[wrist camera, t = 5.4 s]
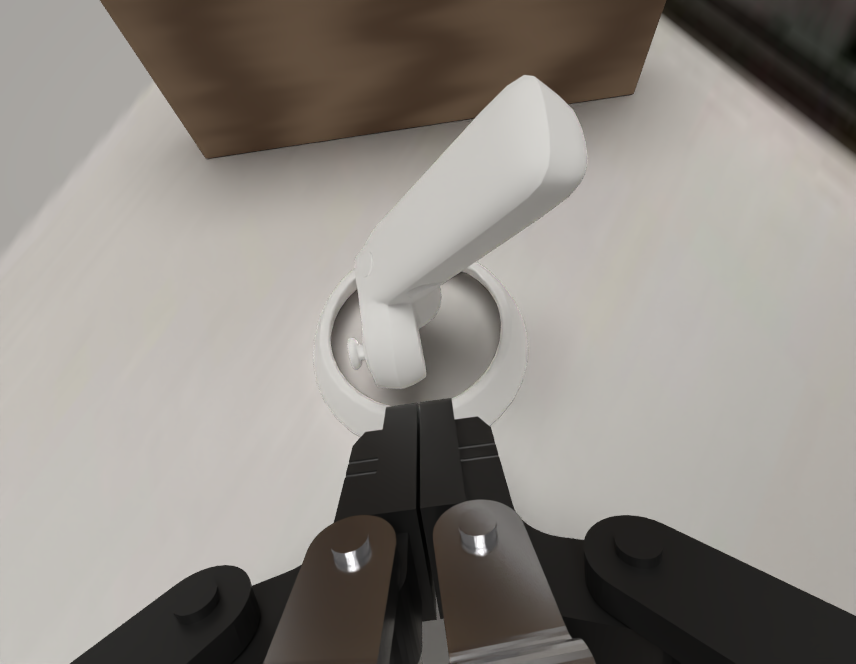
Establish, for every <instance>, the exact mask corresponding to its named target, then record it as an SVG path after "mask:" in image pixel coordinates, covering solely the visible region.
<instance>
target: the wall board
mask: <svg viewBox="0 0 856 664" xmlns="http://www.w3.org/2000/svg"><path fill="white" fill-rule="evenodd" d="M100 1H101V3H102V4H103V6H104V7H105V9H106V10H107V12H108V13H109V14H110V16H111V18H112V19H113V21H114V22H115V24H116V25H117V26H118V28H119V29H120V31H121V32H122V34H123V35H124V37H125V38H126V40H127V41H128V43H129V44H130V46H131V47H132V49H133V50H134V52H135V53H136V55H137V56H138V58H139V59H140V61H141V62H142V64H143V65H144V67H145V68H146V70H147V71H148V73H149V74H150V76H151V77H152V79H153V80H154V82H155V83H156V85H157V86H158V88H159V89H160V91H161V92H162V94H163V95H164V97H165V98H166V100H167V101H168V103H169V104H170V106H171V107H172V109H173V110H174V112H175V113H176V115H177V116H178V118H179V119H180V121H181V122H182V124H183V125H184V127H185V128H186V130H187V131H188V133H189V134H190V136H191V137H192V138H193V140H194V141H195V143H196V144H197V146H198V147H199V149H200V150H201V152H202V153H203V155H204V156H205V158H206V159H207V158H214V157H220V156H227V155H234V154H240V153H247V152H253V151H260V150H267V149H273V148H280V147H286V146H293V145H299V144H306V143H313V142H319V141H326V140H332V139H339V138H346V137H352V136H359V135H365V134H372V133H378V132H385V131H392V130H398V129H405V128H411V127H418V126H425V125H431V124H438V123H444V122H451V121H458V120H464V119H471V118H476V116H477V115H478V114H479V113H480V112H481V111H482V110H483V109H484V108H485V107H486V106H487V105H488V104H489V103H490V102H491V101H492V100H493V99H494V98H495V97H496V96H497V95H498V94H499V93H500V92H501V91H502V90H503V89H504V88H505V87H506V86H507V85H509V84H511V83H512V82H514V81H515V80H517V79H519V78H520V77H522V76H523V75H530V76H535V77H536V78H537V79H539V80H540V81H541V82H542V83H544V84H545V85H546V86H547V87H549V88H550V89H551V90H553V91H554V92H555V93H556V94H558V95H559V96H560V97H561V98H562V99H563V100H564V101H565V102H566V103H567V104H569V103H576V102H583V101H589V100H596V99H602V98H609V97H616V96H622V95H629V94H634V91H635V88H636V85H637V82H638V80H639V77H640V74H641V71H642V68H643V65H644V62H645V59H646V57H647V54H648V51H649V48H650V45H651V42H652V39H653V36H654V34H655V31H656V28H657V25H658V22H659V19H660V16H661V13H662V11H663V8H664V5H665V2H666V0H100Z"/></svg>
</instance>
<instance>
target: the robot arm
mask: <svg viewBox="0 0 856 664" xmlns="http://www.w3.org/2000/svg"><path fill="white" fill-rule="evenodd" d="M436 597H437V603H438V608H439V614H440V619H444V623H445V631H446V638H447V645H448V653H449V661H450V663H449V664H856V616H855V615H853V614H851V613H848V612H846V611H844V610H842V609H840V608H838V607H836V606H834V605H832V604H830V603H827V602H825V601H823V600H821V599H819V598H817V597H815V596H813V595H811V594H809V593H807V592H804V591H802V590H800V589H798V588H796V587H794V586H792V585H790V584H788V583H786V582H784V581H781V580H779V579H777V578H775V577H773V576H771V575H769V574H767V573H765V572H763V571H761V570H758V569H756V568H754V567H752V566H750V565H748V564H746V563H744V562H742V561H740V560H738V559H735V558H733V557H731V556H729V555H727V554H725V553H723V552H721V551H719V550H717V549H715V548H712V547H710V546H708V545H706V544H704V543H702V542H700V541H698V540H696V539H694V538H691V537H689V536H687V535H685V534H683V533H681V532H679V531H677V530H675V529H673V528H671V527H668V526H666V525H664V524H662V523H660V522H657V521H655V520H652V519H648V518H645V517H639V516H630V515H623V516H614V517H609V518H606V519H603V520H601V521H599V522H597V523H596V524H595V525H593V526H592V527H591V528H590V530H589V531H588V532H587V534H586V536H585V540H579V539H572V538H564V537H558V536H552V535H549V534H546V533H543V532H540V531H538V530H536V529H534V528H532V527H531V526H529V525H528V524H526V523H525V522H524V521H523V520H522V519H521V518H520V516H519V515H518V514H517V513H516V511H515V510H514V507H513V504H512V501H511V497H510V494H509V490H508V487H507V483H506V480H505V476H504V473H503V469H502V465H501V462H500V458H499V456H498V451H497V448H496V445H495V441H494V437H493V434H492V430H491V427H490V426H489V425H487V424H486V423H485V422H484V421H483V420H482V419H480V418H479V417H478V416H476V417H469V418H462V419H454V412H453V406H452V399H451V398H448V399H441V400H434V401H426V402H420V409H419V405H418V403H413V404H405V405H398V406H391V407H386V410H385V417H384V423H383V429H382V430H375V431H368V432H365V433H364V434H363V435H362V436H361V437H360V438H359V440H358V441H357V442H356V443H355V444H354V445H353V448H352V452H351V456H350V460H349V465H348V468H347V472H346V478H345V480H344V484H343V488H342V492H341V496H340V500H339V504H338V508H337V512H336V516H335V520H334V523H333V524H331V525H330V526H328V527H327V528H325V529H324V530H323V531H322V532H320V533H319V534H318V535H317V536H316V538H315V539H314V540H313V541H312V543H311V544H310V546H309V548H308V550H307V553H306V555H305V558H304V560H303V563H302V565H300V566H299V567H297V568H295V569H293V570H291V571H288V572H286V573H284V574H281V575H279V576H276V577H274V578H271V579H268V580H266V581H263V582H261V583H258V584H256V585H253V586H252V584H251V582H250V579H249V577H248V575H247V573H246V572H245V571H244V570H242V569H240V568H238V567H235V566H229V565H223V566H215V567H211V568H207V569H204V570H201V571H199V572H197V573H195V574H192V575H191V576H189V577H187V578H185V579H184V580H182V581H181V582H179V583H178V584H176V585H175V586H174V587H172V588H171V589H170V590H168V591H167V592H165V593H164V594H163V595H161V596H160V597H159V598H157V599H156V600H155V601H153V602H152V603H151V604H149V605H148V606H147V607H145V608H144V609H143V610H141V611H140V612H139V613H137V614H136V615H135V616H133V617H132V618H131V619H129V620H128V621H126V622H125V623H124V624H122V625H121V626H120V627H118V628H117V629H116V630H114V631H113V632H112V633H110V634H109V635H108V636H106V637H105V638H104V639H102V640H101V641H100V642H98V643H97V644H96V645H94V646H93V647H91V648H90V649H89V650H87V651H86V652H85V653H83V654H82V655H81V656H79V657H78V658H77V659H75V660H74V661H73V662H71V663H70V664H422V659H421V652H422V621H430V620H437V617H436Z"/></svg>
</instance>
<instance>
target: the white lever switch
mask: <svg viewBox="0 0 856 664" xmlns="http://www.w3.org/2000/svg"><path fill="white" fill-rule="evenodd" d="M587 159H588V157H587V149H586V142H585V138H584V134H583V130H582V127H581V125H580V123H579V120H578V118H577V116H576V114H575V113H574V111H573V109H572V108H571V107H570V106H569V105H568V104H567V103H566V102H565V101H564V100H563V99H562V98H561V97H560V96H559V95H558V94H556V93H555V92H554V91H553V90H551V89H550V88H549V87H547V86H546V85H545V84H544V83H542V82H541V81H540V80H539V79H537V78H536V77H535V76H530V75H523V76H522V77H520V78H519V79H517V80H515V81H514V82H512V83H511V84H509V85H507V86H506V87H505V88H504V89H503V90H502V91H501V92H500V93H499V94H498V95H497V96H496V97H495V98H494V99H493V100H492V101H491V102H490V103H489V104H488V105H487V106H486V107H485V108H484V109H483V110H482V111H481V112H480V113H479V114H478V115H477V116H476V118H475V119H474V120H473V121H472V122H471V123H470V124H469V125H468V126H467V127H466V128H465V130H464V131H463V132H462V133H461V134H460V135H459V136H458V137H457V138H456V139H455V140H454V142H453V143H452V144H451V145H450V146H449V147H448V148H447V149H446V150H445V151H444V152H443V154H442V155H441V156H440V157H439V158H438V159H437V160H436V161H435V162H434V163H433V165H432V166H431V167H430V168H429V169H428V170H427V171H426V172H425V173H424V174H423V175H422V177H421V178H420V179H419V180H418V181H417V182H416V183H415V184H414V185H413V186H412V187H411V189H410V190H409V191H408V192H407V193H406V194H405V195H404V196H403V197H402V198H401V199H400V201H399V202H398V203H397V204H396V205H395V206H394V207H393V208H392V209H391V210H390V211H389V213H388V214H387V215H386V216H385V217H384V218H383V219H382V220H381V221H380V222H379V224H378V225H377V226H376V227H375V228H374V230H373V231H372V232H371V234H370V236H369V238H368V240H367V242H366V243H365V245H364V247H363V248H362V250H361V251H360V252H359V253H358V255H356V257H355V268H354V269H353V270H352V271H351V272H349V273H348V274H347V275H346V276H345V277H344V278H343V279H342V280H341V281H340V283H339V284H338V285H337V287H336V288H335V289H334V291H333V292H332V294H331V295H330V297H329V298H328V300H327V302H326V304H325V306H324V308H323V311H322V313H321V315H320V318H319V322H318V326H317V329H316V333H315V338H314V352H313V365H314V371H315V377H316V382H317V385H318V387H319V390H320V392H321V395H322V397H323V400H324V402H325V403H326V404H327V406H328V407H329V409H330V410H331V412H332V413H333V414H334V416H335V417H336V418H337V419H338V420H339V421H340V422H341V423H342V424H343V425H344V426H345V427H347V428H348V429H349V430H350V431H351V432H352V433H354V434H356V435H358V436H359V437H361V436H362V435H363V434H364V433H365V432H368V431H375V430H382V429H383V423H384V417H385V410H386V407H391V406H390V405H387V404H383V403H380V402H377V401H375V400H373V399H371V398H369V397H367V396H365V395H363V394H362V393H360V392H359V391H358V390H357V389H356V388H354V387H353V386H352V385H351V384H350V383H349V382H348V381H347V380H346V378H345V377H344V376H343V374H342V373H341V372H340V370H339V368H338V366H337V364H336V361H335V359H334V357H333V353H332V348H331V333H332V329H333V325H334V320H335V318H336V316H337V314H338V312H339V310H340V308H341V307H342V306H343V304H344V303H345V301H346V300H347V299H348V297H349V296H350V295H351V294H352V293H353V292H354V291H355V290H356V289H357V290H358V297H359V306H360V314H361V322H362V343H363V344H358V342H357V340H356V339H355V338H349V339H348V342H347V345H348V354H349V359H350V362H351V365H352V367H353V369H355V370H357V369H359V368H360V367H361V364H362V360H366V363H367V366H368V369H369V371H370V373H372V375H373V378H374V381H375V383H376V385H377V386H378V387H379V388H391V389H404V388H407V387H409V386H412V385H414V384H416V383H418V382H419V381H421V380H422V379H424V378H425V377H426V375H427V373H426V367H425V361H424V355H423V349H422V344H421V338H420V333H419V329H420V328H421V327H423V326H425V325H426V324H427V323H429V322H430V321H431V320H432V319H433V318H434V317H435V315H436V314H437V312H438V310H439V308H440V303H441V297H442V296H441V289H440V285H442V284H443V283H445V282H446V281H448V280H449V279H450V278H452V277H454V276H455V275H457V274H458V273H460V272H461V271H462V272H464V273H467V274H469V275H470V276H472V277H473V278H475V279H476V280H478V281H479V282H480V283H481V284H482V285H483V286H484V287H485V288H486V289H487V290H488V291H489V292H490V294H491V295H492V297H493V298H494V300H495V301H496V304H497V306H498V309H499V315H500V321H501V329H500V340H499V344H498V347H497V351H496V354H495V356H494V358H493V360H492V361H491V363H490V365H489V367H488V369H487V370H486V371H485V372H484V374H483V375H482V376H481V377H480V378H479V379H478V381H477V382H476V383H474V384H473V385H472V386H471V387H469V388H468V389H467V390H466V391H464V392H463V393H461V394H459V395H457V396H455V397H454V398H452V406H453V412H454V419H462V418H469V417H476V416H478V417H479V418H480V419H482V420H483V421H484V422H485V423H486V424H487V425H489V426H490V425H491V424H492V423H493V422H495V421H496V420H497V419H498V418H499V417H500V416H501V415H502V413H503V412H504V411H505V410H506V408H507V407H508V406H509V405H510V404H511V402H512V401H513V399H514V397H515V395H516V393H517V391H518V389H519V387H520V385H521V383H522V381H523V377H524V373H525V369H526V366H527V362H528V338H527V333H526V328H525V323H524V320H523V318H522V316H521V313H520V311H519V308H518V306H517V304H516V302H515V300H514V299H513V297H512V296H511V295H510V293H509V292H508V290H507V289H506V287H505V286H504V285H503V284H502V283H501V281H500V280H499V279H498V278H497V277H495V276H494V275H493V274H492V273H491V272H490V271H489V270H488V269H487V268H485V267H484V266H482V265H481V264H479V263H478V262H476V261H478V260H479V259H481V258H482V257H484V256H485V255H487V254H488V253H489V252H491V251H492V250H494V249H495V248H497V247H498V246H500V245H501V244H503V243H504V242H506V241H507V240H509V239H510V238H512V237H513V236H515V235H516V234H518V233H519V232H521V231H522V230H523V229H525V228H526V227H528V226H529V225H531V224H532V223H534V222H535V221H537V220H538V219H540V218H541V217H543V216H544V215H545V214H547V213H548V212H549V211H551V210H552V209H553V208H555V207H556V206H557V205H559V204H560V203H561V202H563V201H564V200H565V199H567V198H568V197H569V196H570V195H571V194H572V193H573V191H574V190H575V189H576V188H577V187H578V185H579V184H580V183H581V181H582V179H583V176H584V174H585V171H586V168H587ZM419 409H420V407H419Z"/></svg>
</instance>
